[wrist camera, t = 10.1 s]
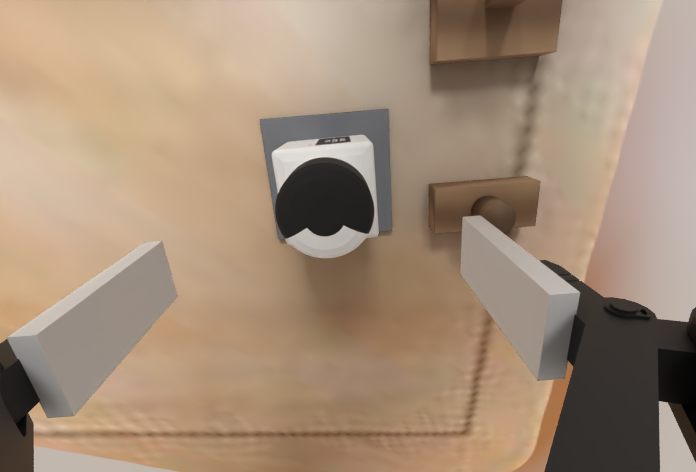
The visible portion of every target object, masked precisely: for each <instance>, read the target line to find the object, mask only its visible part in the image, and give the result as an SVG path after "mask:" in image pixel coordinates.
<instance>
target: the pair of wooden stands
mask: <svg viewBox="0 0 696 472" xmlns="http://www.w3.org/2000/svg"><path fill="white" fill-rule="evenodd" d="M561 6H562V0H430V65H432V64H444V63H456V62H469V61H481V60H494V59H506V58H518V57H531V56H541V55H545V54H548V53H552V52H556V48H557V39H558V31H559V23H560V14H561ZM539 189H540V181H539V180H536V179H533V178H530V177H528V176H525V177H512V178H499V179H487V180H474V181H461V182H449V183H436V184H429V227H430V228H431V229H432V231H433V232H434V233H435V234H437V233H450V232H462V221H463V217H467V216H479V215H480V216H482V217H483V218H484V219H486V220H487V221H488V222H490V223H491V224H492V225H493V226H495V227H496V228H497V229H499V230H500V231H501V232H503V233H504V234H505V233H507V232H509V231H510V230H511V229H512V228H514V227H527V226H535V223H536V214H537V206H538V198H539Z"/></svg>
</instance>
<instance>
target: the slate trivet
mask: <svg viewBox="0 0 696 472" xmlns="http://www.w3.org/2000/svg"><path fill="white" fill-rule="evenodd" d="M260 125H261V131H262V137H263V144H264V150H265V157H266V163H267V169H268V176H269V182H270V189H271V195H272V202H273V208H274V214H275V204H276V199H277V195H278V191H277V185H276V179H275V173H274V167H273V161H272V152H273V151H274V150H276V149H277V148H279V147H281V146H282V145H284V144H285V143H287V142H291V141H302V140H312V139H322V138H332V137H343V136H353V135H365V136H366V137H367V138H368V139H369V140H370V141H371V142H372V144H373V149H374V164H375V180H376V195H377V210H378V226H379V231H392V210H391V179H390V148H389V117H388V109H382V110H369V111H357V112H344V113H332V114H319V115H307V116H295V117H282V118H270V119H260ZM275 221H276V216H275ZM276 227H277V234H278V239H285V238H284V236H283V235H282V233H281V231H280V229H279V227H278V224H277V221H276Z"/></svg>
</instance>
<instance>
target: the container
mask: <svg viewBox="0 0 696 472" xmlns="http://www.w3.org/2000/svg"><path fill="white" fill-rule="evenodd" d="M272 161H273V167H274V173H275V179H276V185H277V191H278V195H277V199H276V204H275V216H276V221H277V224H278V227H279V229H280V231H281V233H282V235H283V236H284V238H285V239H286V243H287V244H288V245H292V246H293V247H294V248H295V249H297V250H298V251H300V252H302V253H304V254H306V255H309V256H312V257H317V258H335V257H339V256H342V255H345V254H347V253H349V252H351V251H353V250H354V249H356V248H357V247H358V246H359V245H360V244H361V243H362V242H363V241H364V240H365V239H366V238H373V237H377V236H378V234H379V226H378V210H377V195H376V180H375V164H374V149H373V144H372V142H371V141H370V140H369V139H368V138H367V137H366V136H365V135H353V136H343V137H332V138H322V139H312V140H302V141H291V142H287V143H285V144H284V145H282V146H281V147H279V148H277V149H276V150H274V151H273V152H272Z"/></svg>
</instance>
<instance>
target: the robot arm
mask: <svg viewBox="0 0 696 472" xmlns="http://www.w3.org/2000/svg"><path fill="white" fill-rule="evenodd" d="M460 274H461V275H462V277H463V278H464V280H465V281H466V282H467V284H468V285H469V287H470V288H471V289H472V291H473V292H474V293H475V295H476V296H477V298H478V299H479V300H480V302H481V303H482V305H483V306H484V307H485V309H486V310H487V311H488V313H489V314H490V316H491V317H492V318H493V320H494V321H495V323H496V324H497V325H498V327H499V328H500V330H501V331H502V332H503V334H504V335H505V336H506V338H507V339H508V341H509V342H510V343H511V345H512V346H513V348H514V349H515V350H516V352H517V353H518V354H519V356H520V357H521V359H522V360H523V361H524V363H525V364H526V366H527V367H528V368H529V370H530V371H531V373H532V374H533V375H534V377H535V378H536V379H537V381H540V380H553V379H565V374H566V369H567V363H568V361H569V362H570V363H571V364H572V365H573V371H572V375H571V378H570V382H569V385H568V389H567V393H566V396H565V400H564V403H563V407H562V411H561V414H560V418H559V421H558V425H557V429H556V432H555V436H554V439H553V443H552V447H551V450H550V454H549V457H548V461H547V464H546V468H545V472H660V454H659V453H660V451H659V401H663V402H668V404H669V406H670V408H671V410H672V412H673V414H674V416H675V418H676V421H677V423H678V425H679V427H680V429H681V431H682V434H683V436H684V438H685V440H686V442H687V444H688V446H689V449H690V451H691V453H692V455H693V457H694V460H695V462H696V308H694V309H693V310H692V312H691V315H690V318H689V322H680V321H670V320H661V319H657V318H656V316H655V314H654V313H653V312H652V311H651V310H649V309H648V308H646V307H644V306H642V305H640V304H638V303H635V302H632V301H628V300H625V299H619V298H604V297H602V296H601V295H600V294H598V293H597V292H595V291H594V290H593V289H591V288H590V287H589V286H587V285H586V284H584V283H583V282H582V281H579V279H577V278H576V277H575V276H573V275H571V274H570V273H569V272H568V271H566V270H565V269H564V268H562V267H561V266H559V265H556V264H554V263H551V262H549V261H546V260H541V261H539V260H538V259H536V258H535V257H534V256H532V255H531V254H530V253H528V252H527V251H526V250H525V249H523V248H522V247H521V246H519V245H518V244H517V243H515V242H514V241H513V240H512V239H510V238H509V237H508V236H506V235H505V234H504V233H503V232H501V231H500V230H499V229H497V228H496V227H495V226H493V225H492V224H491V223H490V222H488V221H487V220H486V219H484V218H483V217H482V216H480V215H479V216H467V217H463V221H462V245H461V269H460ZM177 297H178V295H177V291H176V288H175V284H174V281H173V277H172V274H171V270H170V267H169V263H168V260H167V256H166V253H165V250H164V246H163V243H162V241H155V242H144V243H143V244H142V245H140V246H139V247H137V248H136V249H134V250H133V251H131V252H130V253H128V254H127V255H126V256H124V257H123V258H121V259H120V260H118V261H117V262H115V263H114V264H112V265H111V266H110V267H108V268H107V269H105V270H104V271H102V272H101V273H99V274H98V275H96V276H95V277H94V278H92V279H91V280H89V281H88V282H86V283H85V284H83V285H82V286H80V287H79V288H78V289H76V290H75V291H73V292H72V293H70V294H69V295H67V296H66V297H64V298H63V299H62V300H60V301H59V302H57V303H56V304H54V305H53V306H51V307H50V308H49V309H47V310H46V311H44V312H43V313H41V314H40V315H38V316H37V317H35V318H34V319H33V320H31V321H30V322H28V323H27V324H25V325H24V326H22V327H21V328H19V329H18V330H17V331H15V332H14V333H12V334H11V335H9V336H8V337H6V338H7V339H6V340H5V341H3V342H2V343H0V472H34V467H33V465H34V458H33V457H34V456H33V455H34V439H33V422H32V420H31V418H30V416H29V414H28V412H29V411H30V410H31V409H32V408H33V407H34V406H35V405H36V404H37V403H38V402H40V404H41V406H42V408H43V410H44V412H45V414H46V416H47V418H56V417H69V416H75V415H76V414H77V412H78V411H79V410H80V409H81V408H82V407H83V405H84V404H85V403H86V402H87V401H88V400H89V399H90V397H91V396H92V395H93V394H94V393H95V392H96V390H97V389H98V388H99V387H100V386H101V385H102V383H103V382H104V381H105V380H106V379H107V378H108V376H109V375H110V374H111V373H112V372H113V371H114V370H115V368H116V367H117V366H118V365H119V364H120V363H121V361H122V360H123V359H124V358H125V357H126V356H127V354H128V353H129V352H130V351H131V350H132V349H133V348H134V346H135V345H136V344H137V343H138V342H139V341H140V339H141V338H142V337H143V336H144V335H145V334H146V332H147V331H148V330H149V329H150V328H151V327H152V325H153V324H154V323H155V322H156V321H157V320H158V319H159V317H160V316H161V315H162V314H163V313H164V312H165V310H166V309H167V308H168V307H169V306H170V305H171V303H172V302H173V301H174V300H175V299H176V298H177Z"/></svg>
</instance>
